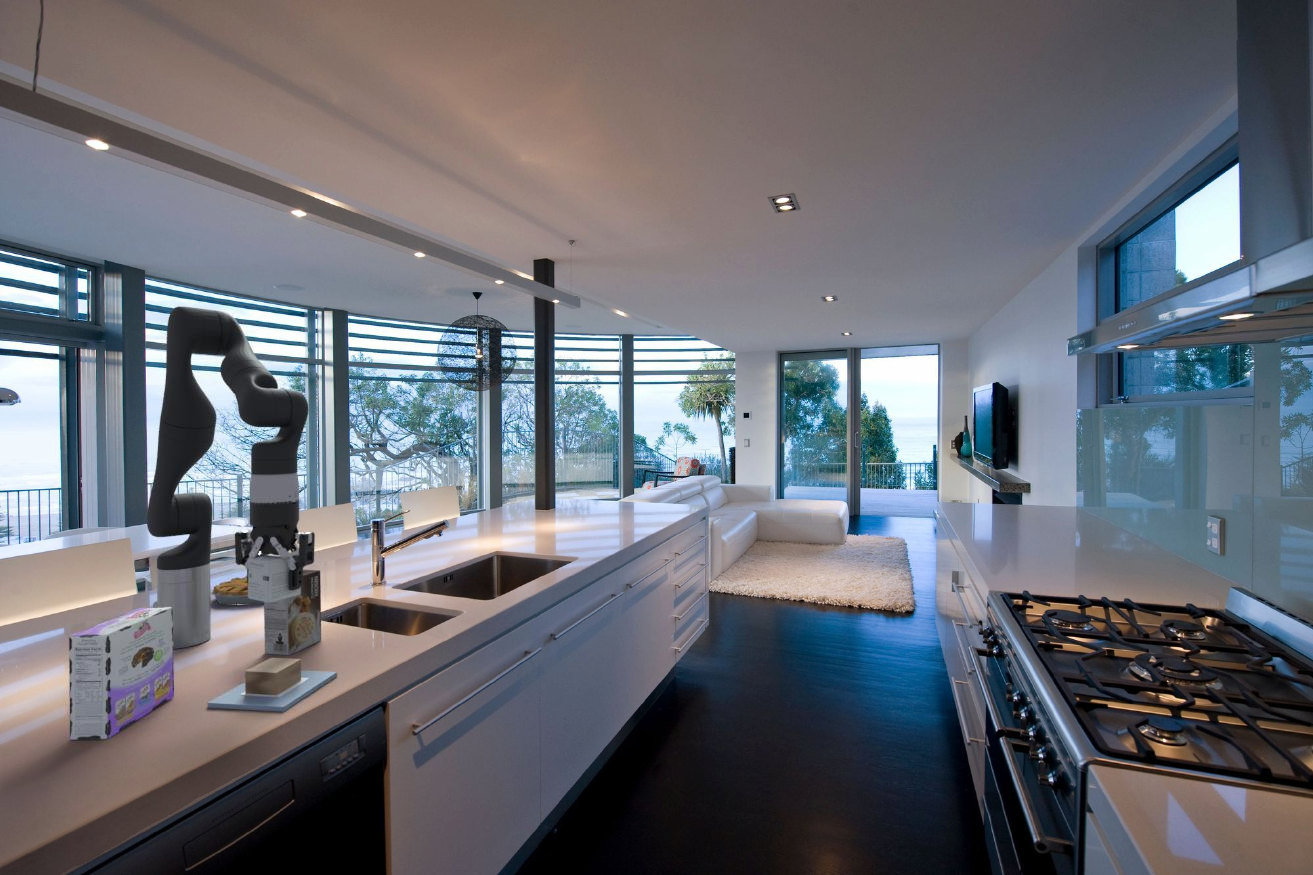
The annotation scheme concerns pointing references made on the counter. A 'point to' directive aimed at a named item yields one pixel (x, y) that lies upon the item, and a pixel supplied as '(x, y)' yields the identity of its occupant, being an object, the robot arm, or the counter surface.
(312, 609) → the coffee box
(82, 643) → the candy box
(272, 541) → the robot arm
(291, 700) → the board
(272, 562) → the skincare box
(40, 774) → the counter surface
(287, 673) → the walnut block
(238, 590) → the pie
